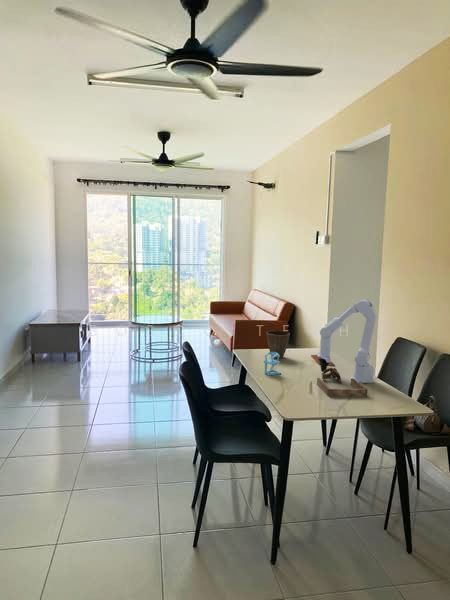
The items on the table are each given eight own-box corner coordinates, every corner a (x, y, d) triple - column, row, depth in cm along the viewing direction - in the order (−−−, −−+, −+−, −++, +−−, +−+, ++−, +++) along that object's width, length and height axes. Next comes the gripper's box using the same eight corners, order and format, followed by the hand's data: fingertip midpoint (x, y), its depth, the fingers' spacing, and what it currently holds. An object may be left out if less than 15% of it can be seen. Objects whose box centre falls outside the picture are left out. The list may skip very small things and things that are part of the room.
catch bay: (352, 384, 212) (353, 378, 211) (367, 396, 195) (367, 389, 194) (316, 384, 210) (317, 377, 209) (328, 396, 193) (328, 389, 192)
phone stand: (261, 373, 226) (262, 352, 224) (271, 370, 231) (272, 350, 230) (271, 376, 220) (272, 355, 219) (281, 373, 226) (282, 353, 224)
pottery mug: (341, 386, 210) (334, 373, 209) (324, 390, 215) (318, 377, 214) (344, 374, 220) (338, 362, 219) (328, 379, 225) (322, 366, 224)
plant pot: (264, 359, 255) (265, 334, 253) (266, 353, 270) (267, 329, 268) (288, 361, 253) (289, 336, 251) (288, 355, 267) (290, 331, 265)
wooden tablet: (336, 367, 245) (336, 364, 245) (319, 367, 245) (320, 364, 244) (323, 355, 272) (323, 353, 271) (309, 355, 271) (309, 353, 271)
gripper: (314, 344, 234) (312, 367, 235) (322, 351, 219) (320, 375, 221) (326, 345, 234) (324, 367, 236) (335, 351, 220) (333, 375, 222)
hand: (323, 371), depth 229 cm, fingers closed
